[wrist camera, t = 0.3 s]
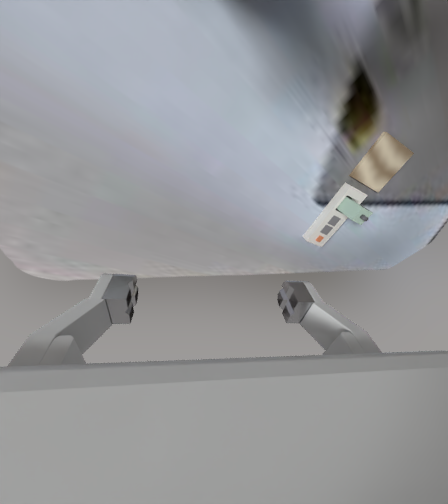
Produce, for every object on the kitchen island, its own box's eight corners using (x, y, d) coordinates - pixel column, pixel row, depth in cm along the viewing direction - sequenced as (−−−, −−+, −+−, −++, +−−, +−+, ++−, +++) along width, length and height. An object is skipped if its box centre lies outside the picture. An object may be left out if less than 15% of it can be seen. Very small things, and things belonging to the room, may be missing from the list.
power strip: (345, 182, 59) (352, 186, 56) (361, 191, 62) (369, 196, 59) (302, 236, 69) (307, 242, 67) (317, 242, 72) (322, 248, 69)
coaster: (383, 131, 52) (386, 132, 51) (410, 152, 56) (413, 153, 55) (349, 175, 58) (351, 176, 57) (375, 191, 62) (378, 192, 61)
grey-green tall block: (341, 193, 61) (366, 210, 52) (350, 198, 63) (376, 215, 54) (332, 204, 63) (355, 222, 54) (341, 209, 65) (365, 227, 56)
